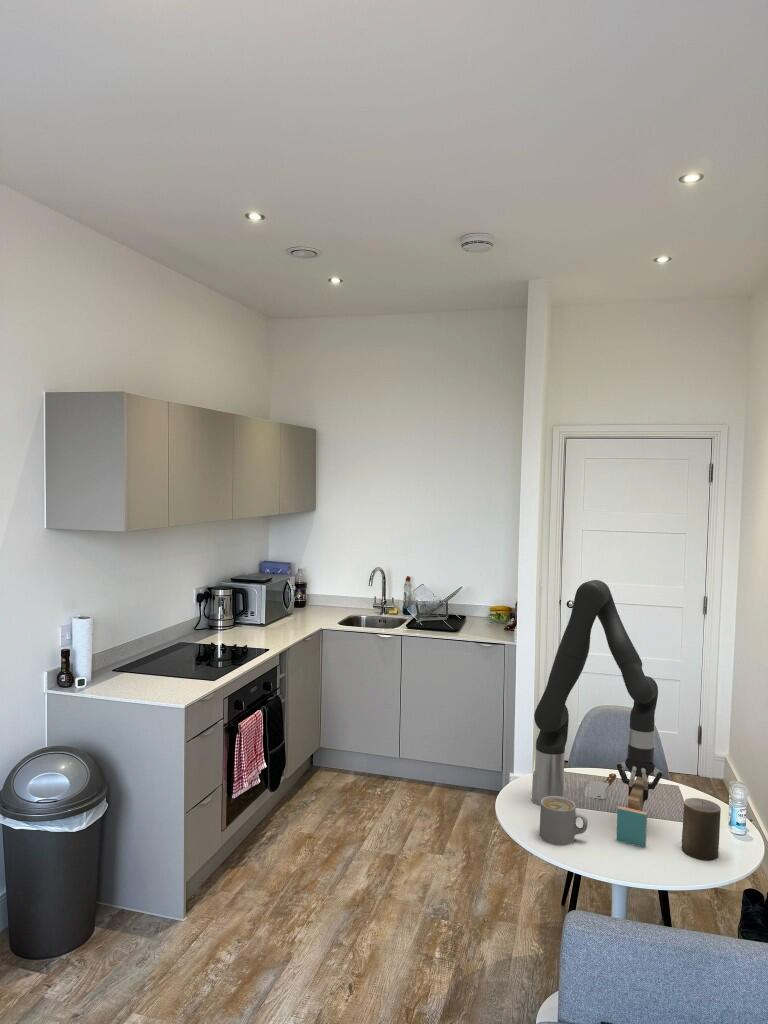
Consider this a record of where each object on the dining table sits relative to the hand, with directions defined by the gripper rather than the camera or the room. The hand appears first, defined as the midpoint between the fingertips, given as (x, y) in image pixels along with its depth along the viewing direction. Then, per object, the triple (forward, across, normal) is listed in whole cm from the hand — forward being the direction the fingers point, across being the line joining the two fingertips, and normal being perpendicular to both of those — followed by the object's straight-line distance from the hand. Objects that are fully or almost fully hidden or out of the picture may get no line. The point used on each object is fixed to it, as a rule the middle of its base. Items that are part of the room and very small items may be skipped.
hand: (638, 799), depth 218 cm
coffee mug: (+9, -18, -19) cm, 28 cm away
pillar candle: (+9, +18, -6) cm, 21 cm away
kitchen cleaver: (+9, -16, +25) cm, 31 cm away
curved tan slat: (+2, 0, 0) cm, 2 cm away
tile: (+9, 0, -11) cm, 14 cm away
